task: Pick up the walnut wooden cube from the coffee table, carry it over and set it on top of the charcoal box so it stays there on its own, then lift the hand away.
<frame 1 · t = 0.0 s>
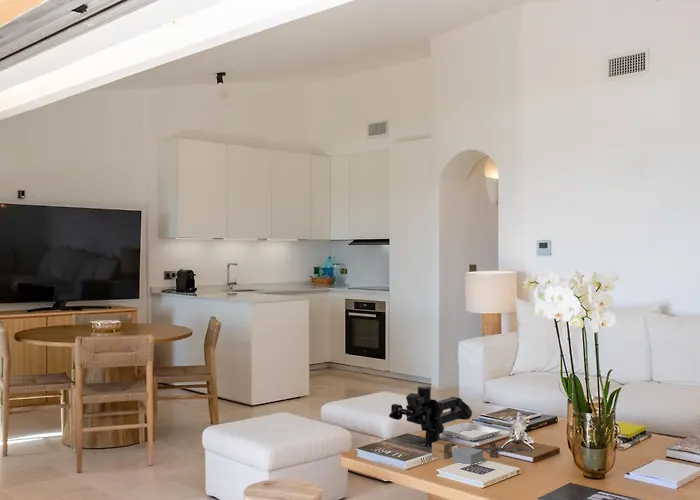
hand: (398, 417, 297), 17 cm above the table, tool horizontal, fingers open, 9 cm apart
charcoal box: (467, 462, 291), on the table
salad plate: (469, 436, 333), on the table
bear figurine: (493, 454, 304), on the table
walnut cube: (441, 457, 298), on the table
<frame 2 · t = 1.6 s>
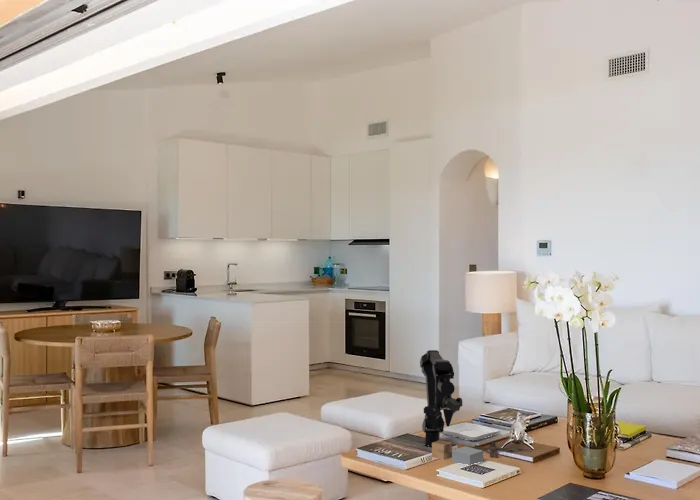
hand: (441, 428, 298), 12 cm above the table, tool pointing down, fingers open, 9 cm apart
nothing on the table moved.
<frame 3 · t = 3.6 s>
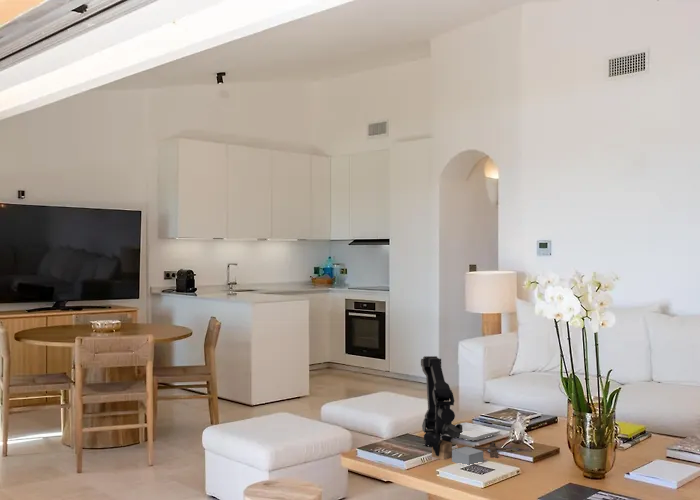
hand: (441, 454, 298), 1 cm above the table, tool pointing down, fingers closed on walnut cube, 6 cm apart
walnut cube: (441, 456, 298), on the table, touching gripper
everything else where it was.
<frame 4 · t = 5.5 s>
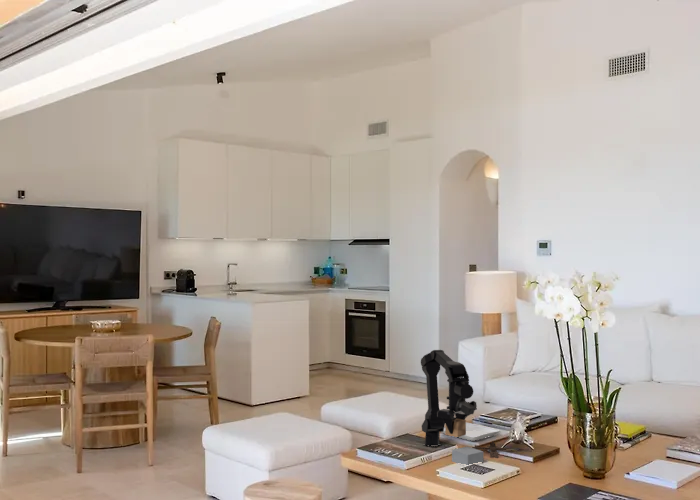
hand: (455, 432, 294), 11 cm above the table, tool pointing down, fingers closed on walnut cube, 6 cm apart
walnut cube: (455, 434, 294), point 10 cm above the table, touching gripper
everything else where it was.
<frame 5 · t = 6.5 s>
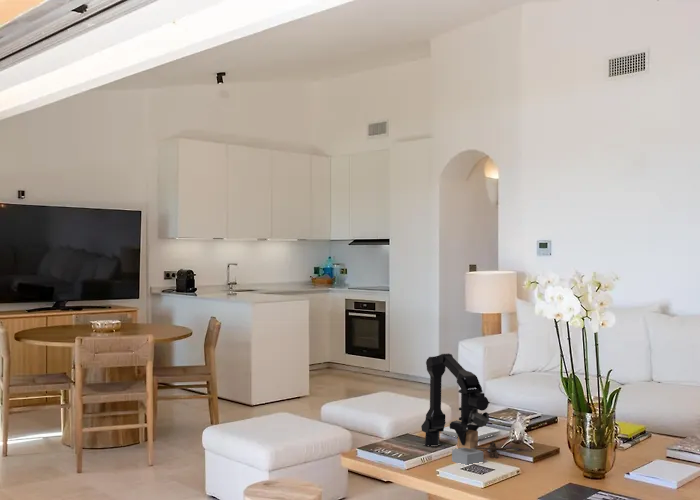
hand: (467, 443, 291), 8 cm above the table, tool pointing down, fingers closed on walnut cube, 6 cm apart
walnut cube: (467, 445, 291), point 7 cm above the table, touching gripper
everything else where it was.
when the fingers open (7 cm above the table, at t = 7.3 s): walnut cube drops 2 cm, point 5 cm above the table.
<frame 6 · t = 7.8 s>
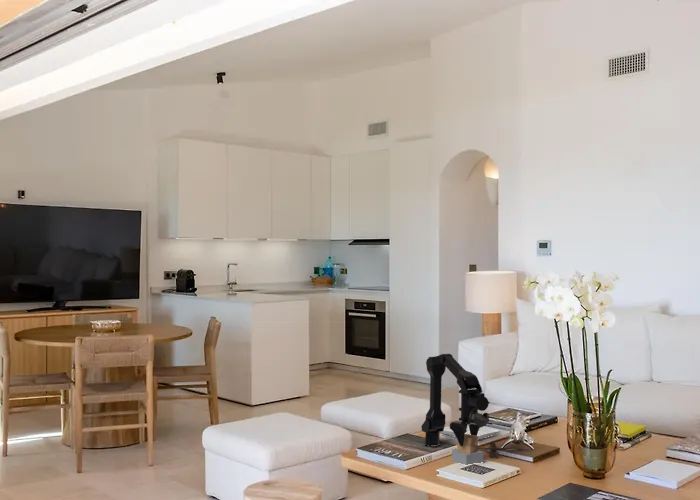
hand: (467, 443, 291), 7 cm above the table, tool pointing down, fingers open, 9 cm apart
walnut cube: (467, 450, 291), point 5 cm above the table
everything else where it was.
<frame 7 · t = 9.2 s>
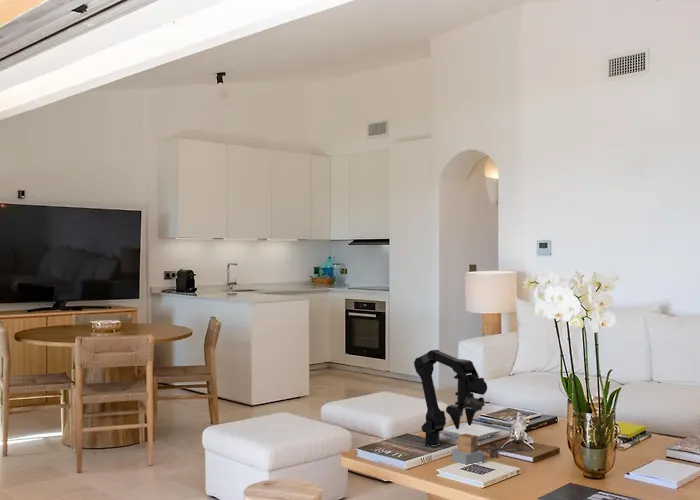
hand: (463, 427, 301), 12 cm above the table, tool pointing down, fingers open, 9 cm apart
nothing on the table moved.
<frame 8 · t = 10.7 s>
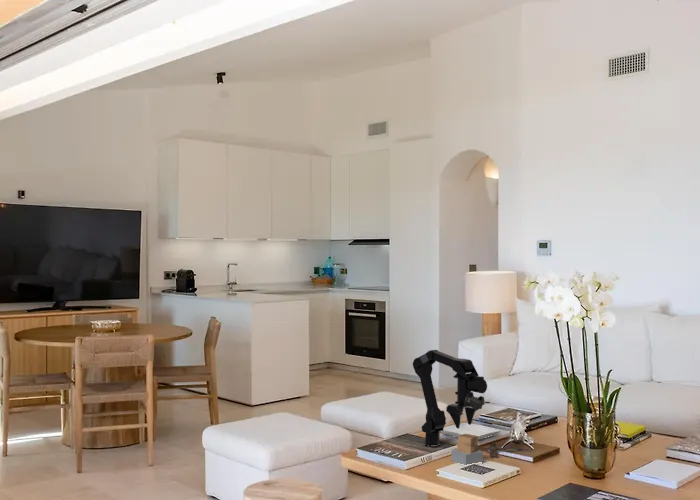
hand: (463, 426, 301), 12 cm above the table, tool pointing down, fingers open, 9 cm apart
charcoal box: (466, 462, 291), on the table, touching walnut cube
walnut cube: (467, 450, 291), point 5 cm above the table, touching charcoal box
everything else where it was.
at the end: walnut cube 0.3 cm off-centre on the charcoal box, point 5.0 cm above the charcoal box's base; walnut cube tilted 0°; the gripper is holding nothing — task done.
